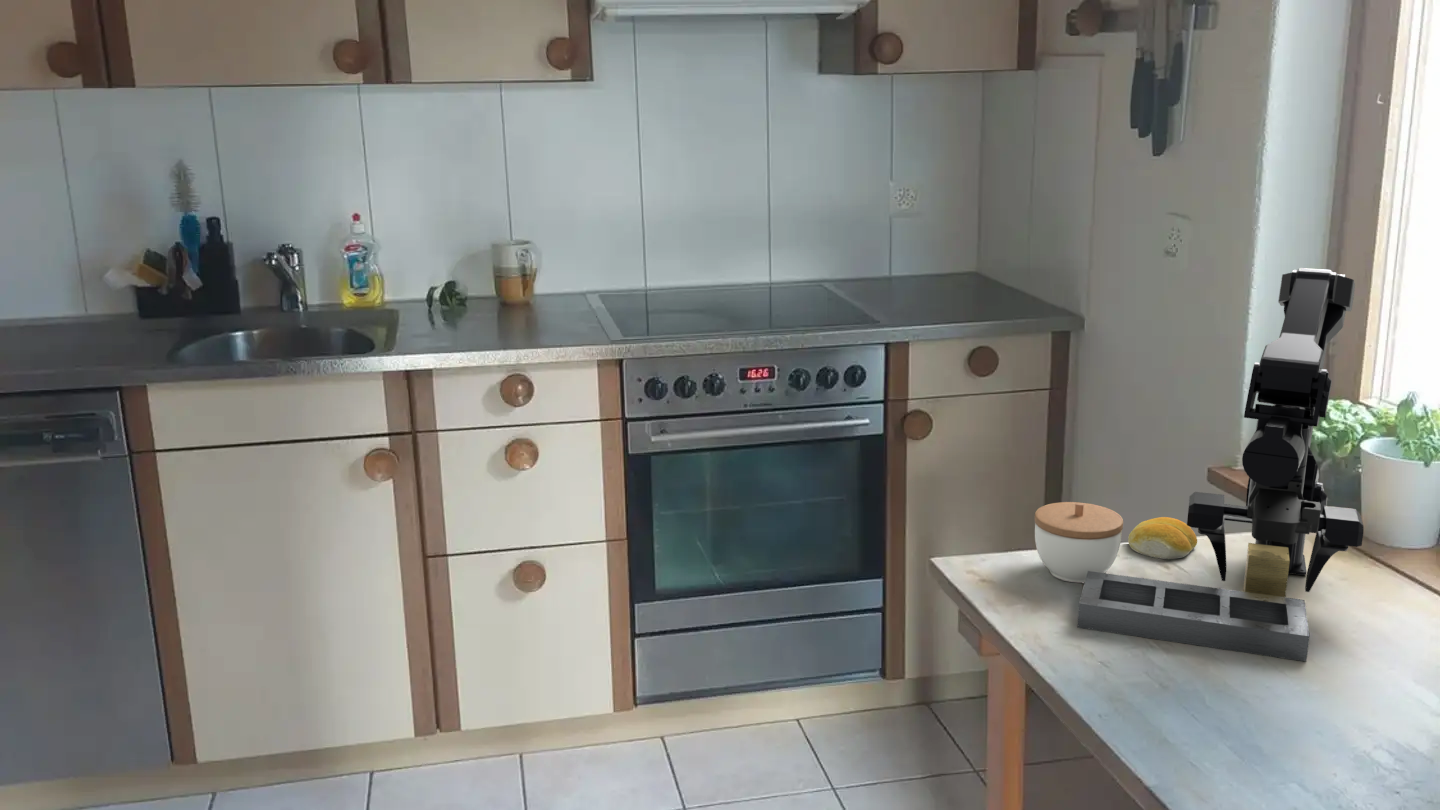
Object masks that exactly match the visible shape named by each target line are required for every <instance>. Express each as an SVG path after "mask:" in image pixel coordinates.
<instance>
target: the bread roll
mask: <svg viewBox="0 0 1440 810" xmlns="http://www.w3.org/2000/svg"><path fill="white" fill-rule="evenodd" d="M1127 541H1128V546H1129V547H1130V548H1131V549H1132V550H1133V551H1134V552H1136V553H1138V554H1141V555H1143V556H1148V557H1151V558H1154V559H1159V560H1160V559H1161V560H1175V559H1176V560H1177V559H1182V558H1184V557H1186V556H1188V555H1189V554H1190V553H1191V552H1192V551H1193V550H1194V548H1196V546H1198V545H1197V544H1198V538H1197V535H1196V533H1195V531H1194V530H1193V529H1192V527H1190V526H1187V522H1184V521H1182V520H1179V519H1177V518H1173V517H1170V516H1169V517H1167V516H1161V517H1160V516H1159V517H1155V518H1149V519H1148V520H1144V521H1143V520H1142V521H1141V522H1140V523H1138V524H1137V525H1136V526H1135V527H1134V528H1133V529H1132V530H1131V532H1130V533H1129V534H1128V538H1127Z"/></svg>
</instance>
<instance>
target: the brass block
mask: <svg viewBox="0 0 1440 810" xmlns="http://www.w3.org/2000/svg"><path fill="white" fill-rule="evenodd" d="M1289 563H1290V559H1289V550H1288V547H1279V546H1271V545H1263V544H1255V542H1254V543H1253V542H1252V543H1251V542H1248V545H1247V552H1246V561H1245V569H1244V577H1243V588H1242V592H1250V593H1257V594H1265V595H1272V596H1280V597H1287V596H1286V594H1287V586H1288V578H1289V573H1288V571H1289Z"/></svg>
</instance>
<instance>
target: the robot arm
mask: <svg viewBox="0 0 1440 810" xmlns="http://www.w3.org/2000/svg"><path fill="white" fill-rule="evenodd" d="M1280 282H1281V283H1280V288H1279V294H1278V301H1277V302H1278V304H1279V305H1280V306H1283V315H1284V318H1283V323H1282V327H1281V330H1280V334H1279V337H1278V338H1277V339H1276V340H1274V341H1271V342H1270V343H1268V344H1265V346H1264V349H1263V352H1262V355H1261V356H1260V361H1259V362H1257V361H1256V362H1254V363H1253V367H1252V370H1251V377H1250V383H1249V387H1248V393H1247V398H1246V403H1245V408H1244V413H1243V418H1245V419H1251V420H1256V428H1255V431H1254V433H1253V435H1252V437H1251V438H1250V439H1249V442H1248V443H1247V445H1246V447H1245V449H1244V451H1243V452H1242V456H1241V460H1242V461H1241V463H1242V467H1243V470H1244V472H1245V474H1246V475H1247V476H1248V482H1247V488H1246V497H1245V498H1246V500H1245V501H1246V502H1245V505H1236V504H1227V503H1225V494H1221V493H1210V492H1202V491H1201V492H1200V491H1194V492H1193V493H1191V494H1190V495H1189V497H1188V498H1189V499H1188V510H1187V520H1186V524H1187V526H1189V527H1190V528H1193V529H1197V533H1198V534H1200V535H1203V536H1206V537H1207V538H1208V540H1209V542H1210V545H1211V546H1212V548H1213V552H1214V555H1215V559H1216V563H1217V568H1218V570H1219V571H1218V572H1219V575H1220V579H1221V581H1222V582H1225V581H1226V579H1227V549H1226V548H1227V545H1226V544H1227V543H1226V541H1227V540H1226V524H1225V523H1226V521H1231V522H1238V523H1239V522H1240V523H1247V524H1251V536H1252V538H1253V539H1254V540H1255V542H1254V544H1263V545H1271V546H1279V547H1288V550H1289V559H1290V563H1289V571H1288V575H1290V574H1291V575H1300V576H1305V586H1304V590H1305V592H1306V593H1310V591H1311V590H1312V588H1313V586H1314V585H1315V583H1316V581H1317V579H1318V577H1319V575H1320V574H1321V571H1322V570H1323V568H1324V566H1325V565H1326V564H1327V563H1328V561H1329V560H1330V559H1331V558H1332V557H1333V555H1335V554H1336V553H1338V552H1347V551H1348V550H1349V547H1355V548H1357V547H1362V545H1363V540H1364V539H1363V538H1364V529H1365V527H1364V523H1363V519H1362V515H1361V514H1360V513H1359V511H1358V510H1357V509H1356V508H1350V507H1349V508H1348V507H1342V506H1341V507H1340V506H1329V505H1328V494H1327V493H1326V491H1325V488H1324V483H1323V482H1320V481H1319V478H1320V472H1319V465H1318V463H1317V461H1316V459H1315V456H1314V455H1313V452H1312V450H1311V443H1312V436H1313V432H1314V427H1318V425H1319V424H1320V418H1324V419H1325V418H1326V416H1327V410H1328V405H1329V400H1330V395H1331V390H1332V383H1333V379H1331V378H1330V376H1329V373H1330V372H1329V371H1328V369H1325V368H1324V364H1325V357H1326V352H1327V346H1328V344H1329V342H1330V341H1331V340H1332V339H1333V338H1334V337H1336V335H1337V334H1338V333H1339V332H1340V331H1341V330H1342V329H1343V328H1344V325H1345V324H1344V323H1345V317H1346V313H1347V312H1352V311H1353V306H1354V305H1353V304H1354V298H1355V291H1356V290H1355V289H1356V283H1355V279H1352V278H1350V277H1347V274H1339V273H1338V272H1335V271H1334V272H1333V271H1332V270H1331V269H1322V268H1304V267H1299V268H1298V269H1292V271H1291V272H1288V273H1285V274H1282V275H1281V281H1280ZM1256 397H1257V398H1256ZM1256 401H1257V402H1258V403H1255V402H1256ZM1254 404H1255V407H1254ZM1269 404H1270V405H1269ZM1311 533H1312V534H1315V538H1314V542H1313V545H1312V548H1311V549H1312V550H1311V554H1310V559H1309V562H1308V567H1307V564H1306V558H1305V557H1306V556H1305V555H1304V550H1305V542H1306V535H1310V534H1311Z"/></svg>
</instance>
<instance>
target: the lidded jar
mask: <svg viewBox="0 0 1440 810" xmlns="http://www.w3.org/2000/svg"><path fill="white" fill-rule="evenodd" d="M1123 528H1124V520H1123V517H1122V516H1121V515H1120V514H1119V513H1118V512H1116V511H1115V510H1112V509H1110V508H1108V507H1105V506H1103V505H1102V506H1101V505H1097V504H1093V503H1087V502H1086V503H1085V502H1078V501H1077V502H1075V501H1062V502H1052V503H1049V504H1046V505H1042V506H1040V507H1039V508H1037V509H1036V511H1035V513H1034V541H1035V542H1034V543H1035V546H1036V552H1037V554H1038V556H1039V558H1040V560H1041V562H1042V564H1043V565H1044V566H1045V567H1046V568H1047V569H1048V570H1049V573H1050V574H1051V575H1052V576H1053V577H1054V578H1056V579H1059V580H1060V581H1061V580H1062V581H1065V582H1070V583H1074V584H1075V583H1077V584H1078V583H1079V584H1084V583H1085V580H1086V576H1087V573H1088V571H1093V572H1100V573H1107V572H1106V571H1108V570H1109V569H1110V568H1111V567H1112V566H1113V564H1114V562H1115V560H1116V558H1117V557H1118V553H1119V550H1120V546H1121V541H1122V530H1123Z"/></svg>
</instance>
